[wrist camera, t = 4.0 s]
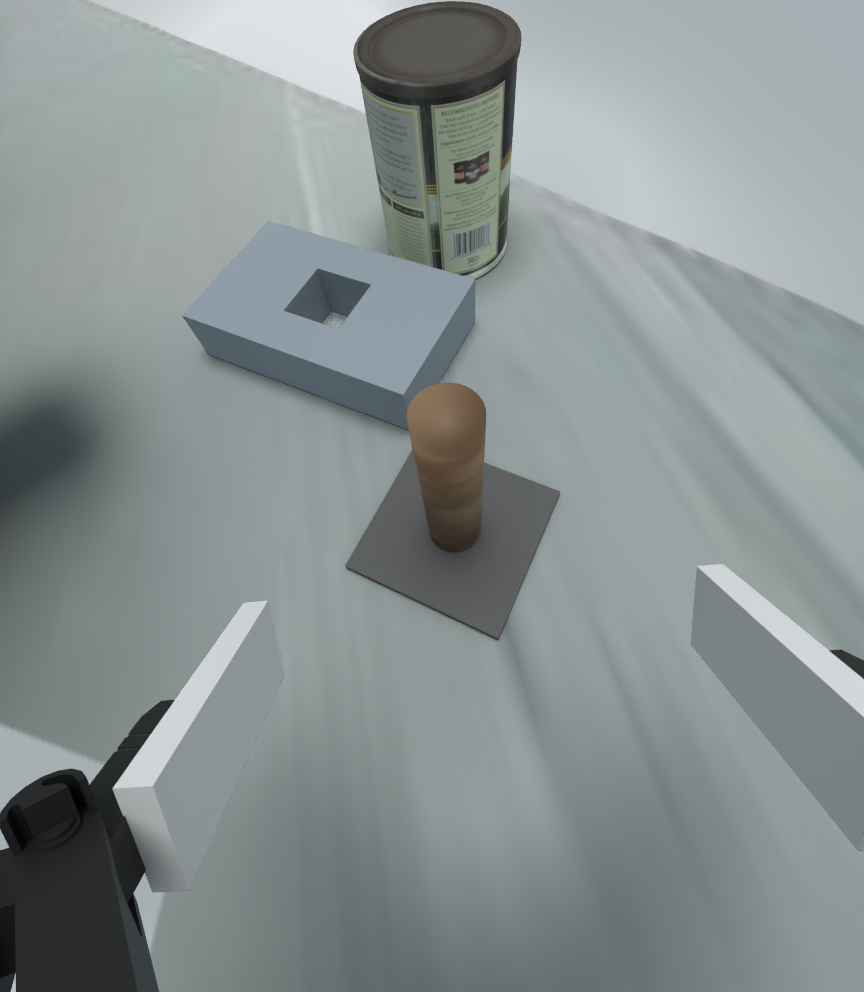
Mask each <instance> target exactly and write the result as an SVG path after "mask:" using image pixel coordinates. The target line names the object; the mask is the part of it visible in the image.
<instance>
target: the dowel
mask: <svg viewBox="0 0 864 992" xmlns="http://www.w3.org/2000/svg"><path fill="white" fill-rule="evenodd" d="M407 424H408V429H409V434H410V439H411V444H412V449H413V454H414V459H415V464H416V469H417V474H418V479H419V484H420V489H421V493H422V498H423V503H424V508H425V513H426V518H427V523H428V528H429V533H430V537H431V539H432V541H433V542H434V543H435V545H436V546H438V547H439V548H440V549H442V550H444V551H447V552H453V553H457V552H462V551H465V550H467V549H469V548H471V547H472V546H473V545H474V544H475V543H476V542H477V540H478V538H479V536H480V532H481V515H482V494H483V472H484V451H485V429H486V409H485V405H484V403H483V401H482V399H481V398H480V397H479V395H478V394H477V393H476V392H474V391H473V390H472V389H470V388H468V387H466V386H464V385H460V384H456V383H440V384H435V385H432V386H429V387H427V388H425V389H424V390H422V391H421V392H419V393H418V394H417V395H416V396H415V397H414V398H413V400H412V401H411V403H410V405H409V407H408V410H407Z"/></svg>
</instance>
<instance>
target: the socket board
mask: <svg viewBox="0 0 864 992" xmlns="http://www.w3.org/2000/svg"><path fill="white" fill-rule="evenodd" d="M331 310H332V311H335V312H338V313H341V314H344V315H347V316H348V317H347V318H346V320H345V321H344V322H343V324H342V325H341V327H340V328H339V329H337V328H334V327H331V326H328V325H325V324H322V322H323V321H324V319H325V318H326V317H327V315H328V314H329V313H330V311H331ZM182 316H183V318H184V319H185V320H186V322H187V323H188V325H189V326H190V328H191V329H192V331H193V332H194V334H195V335H196V337H197V338H198V340H199V341H200V343H201V344H202V346H203V347H204V348H205V350H206V351H207V353H208V354H209V355H211V356H214V357H217V358H219V359H222V360H225V361H227V362H230V363H233V364H235V365H238V366H240V367H243V368H246V369H248V370H251V371H254V372H256V373H259V374H262V375H264V376H267V377H270V378H272V379H275V380H277V381H280V382H283V383H285V384H288V385H291V386H293V387H296V388H299V389H301V390H304V391H307V392H309V393H312V394H314V395H317V396H320V397H322V398H325V399H328V400H330V401H333V402H336V403H338V404H341V405H344V406H346V407H349V408H351V409H354V410H357V411H359V412H362V413H365V414H367V415H370V416H373V417H375V418H378V419H381V420H383V421H386V422H388V423H391V424H394V425H396V426H399V427H402V428H404V429H407V430H409V429H408V424H407V410H408V407H409V405H410V403H411V401H412V400H413V398H414V397H415V396H416V395H417V394H418V393H419V392H421V391H422V390H424V389H425V388H427V387H429V386H432V385H435V384H438V383H439V382H440V380H441V378H442V377H443V375H444V373H445V372H446V370H447V368H448V367H449V365H450V363H451V362H452V360H453V358H454V356H455V355H456V353H457V351H458V350H459V348H460V346H461V345H462V343H463V341H464V340H465V338H466V336H467V335H468V333H469V331H470V329H471V328H472V326H473V324H474V323H475V279H473V278H469V277H465V276H462V275H458V274H455V273H451V272H448V271H444V270H440V269H437V268H433V267H430V266H426V265H423V264H419V263H416V262H412V261H408V260H405V259H401V258H398V257H394V256H391V255H387V254H383V253H380V252H376V251H373V250H369V249H366V248H362V247H359V246H355V245H351V244H348V243H344V242H341V241H337V240H334V239H330V238H326V237H323V236H319V235H316V234H312V233H309V232H305V231H302V230H298V229H294V228H291V227H287V226H284V225H280V224H277V223H273V222H269V221H268V222H267V223H266V224H265V226H264V227H263V228H262V229H261V230H260V231H259V232H258V233H257V234H256V235H255V236H254V238H253V239H252V240H251V241H250V242H249V243H248V244H247V245H246V246H245V247H244V248H243V250H242V251H241V252H240V253H239V254H238V255H237V256H236V257H235V258H234V259H233V261H232V262H231V263H230V264H229V265H228V266H227V267H226V268H225V269H224V270H223V271H222V273H221V274H220V275H219V276H218V277H217V278H216V279H215V280H214V281H213V282H212V283H211V285H210V286H209V287H208V288H207V289H206V290H205V291H204V292H203V293H202V294H201V296H200V297H199V298H198V299H197V300H196V301H195V302H194V303H193V304H192V305H191V306H190V308H189V309H188V310H187V311H186V312H185V313H184V314H183V315H182Z"/></svg>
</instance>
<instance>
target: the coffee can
mask: <svg viewBox="0 0 864 992" xmlns="http://www.w3.org/2000/svg"><path fill="white" fill-rule="evenodd" d="M520 47H521V31H520V29H519V27H518V25H517V23H516V22H515V21H514V20H513V19H512V18H511V17H510V16H509V15H507V14H505V13H504V12H502V11H500V10H498V9H495V8H492V7H489V6H487V5H482V4H479V3H471V2H456V1H449V2H448V1H447V2H435V3H427V4H422V5H417V6H413V7H410V8H405V9H402V10H400V11H397V12H394V13H392V14H390V15H387V16H385V17H383V18H381V19H380V20H378V21H376V22H375V23H373V24H372V25H370V26H369V27H368V28H367V29H366V30H364V31H363V33H362V34H361V35H360V36H359V38H358V39H357V41H356V43H355V46H354V59H355V64H356V68H357V71H358V73H359V75H360V82H361V88H362V93H363V99H364V105H365V110H366V116H367V122H368V128H369V133H370V139H371V144H372V150H373V156H374V162H375V168H376V173H377V180H378V184H379V190H380V196H381V201H382V207H383V213H384V219H385V224H386V230H387V236H388V242H389V254H390V255H391V256H394V257H398V258H401V259H405V260H408V261H412V262H416V263H419V264H423V265H426V266H430V267H433V268H437V269H440V270H444V271H448V272H451V273H455V274H458V275H462V276H465V277H469V278H473V279H476V278H478V277H480V276H482V275H484V274H486V273H487V272H489V271H490V270H491V269H492V268H494V267H495V266H496V265H497V264H498V263H499V261H500V260H501V259H502V257H503V255H504V253H505V250H506V247H507V218H508V202H509V185H510V168H511V152H512V137H513V121H514V105H515V88H516V72H517V59H518V56H519V53H520Z"/></svg>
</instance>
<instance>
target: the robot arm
mask: <svg viewBox="0 0 864 992" xmlns="http://www.w3.org/2000/svg"><path fill="white" fill-rule="evenodd" d="M691 645H692V647H693V648H694V649H695V650H696V652H697V653H698V654H699V655H700V656H701V658H702V659H703V660H704V661H705V663H706V664H707V665H708V666H709V668H710V669H711V670H712V671H713V672H714V674H715V675H716V676H717V677H718V679H719V680H720V681H721V682H722V684H723V685H724V686H725V687H726V689H727V690H728V691H729V692H730V693H731V695H732V696H733V697H734V698H735V700H736V701H737V702H738V703H739V705H740V706H741V707H742V708H743V710H744V711H745V712H746V713H747V714H748V716H749V717H750V718H751V719H752V721H753V722H754V723H755V724H756V726H757V727H758V728H759V729H760V730H761V732H762V733H763V734H764V735H765V737H766V738H767V739H768V740H769V742H770V743H771V744H772V745H773V747H774V748H775V749H776V750H777V751H778V753H779V754H780V755H781V756H782V758H783V759H784V760H785V761H786V763H787V764H788V765H789V766H790V768H791V769H792V770H793V771H794V772H795V774H796V775H797V776H798V777H799V779H800V780H801V781H802V782H803V784H804V785H805V786H806V787H807V788H808V790H809V791H810V792H811V793H812V795H813V796H814V797H815V798H816V800H817V801H818V802H819V803H820V805H821V806H822V807H823V808H824V809H825V811H826V812H827V813H828V814H829V816H830V817H831V818H832V819H833V821H834V822H835V823H836V824H837V826H838V827H839V828H840V829H841V830H842V832H843V833H844V834H845V835H846V837H847V838H848V839H849V840H850V842H851V843H852V844H853V845H854V846H855V848H856V849H857V850H858V851H864V661H863V660H861V659H859V658H857V657H855V656H853V655H851V654H849V653H847V652H845V651H843V650H827V649H826V648H825V647H824V646H822V645H821V644H820V643H819V642H818V641H816V640H815V639H814V638H813V637H811V636H810V635H809V634H808V633H807V632H805V631H804V630H803V629H802V628H800V627H799V626H798V625H797V624H796V623H794V622H793V621H792V620H791V619H789V618H788V617H787V616H786V615H784V614H783V613H782V612H781V611H780V610H778V609H777V608H776V607H775V606H773V605H772V604H771V603H770V602H769V601H767V600H766V599H765V598H764V597H762V596H761V595H760V594H759V593H758V592H756V591H755V590H754V589H753V588H751V587H750V586H749V585H748V584H747V583H745V582H744V581H743V580H742V579H740V578H739V577H738V576H737V575H735V574H734V573H733V572H732V571H731V570H729V569H728V568H727V567H726V566H724V565H723V564H718V565H706V566H697V571H696V584H695V596H694V609H693V621H692V634H691ZM284 675H285V674H284V669H283V665H282V661H281V656H280V652H279V647H278V643H277V638H276V634H275V629H274V625H273V621H272V616H271V612H270V607H269V603H268V601H259V602H246V603H243V605H242V606H241V607H240V609H239V610H238V612H237V613H236V615H235V616H234V617H233V619H232V620H231V622H230V623H229V624H228V626H227V627H226V629H225V630H224V632H223V633H222V634H221V636H220V637H219V639H218V640H217V641H216V643H215V644H214V646H213V647H212V648H211V650H210V651H209V653H208V654H207V656H206V657H205V658H204V660H203V661H202V663H201V664H200V665H199V667H198V668H197V670H196V671H195V673H194V674H193V675H192V677H191V678H190V680H189V681H188V682H187V684H186V685H185V687H184V688H183V689H182V691H181V692H180V694H179V695H178V697H177V698H176V699H175V700H167V701H160V702H159V703H158V704H157V705H155V706H154V707H153V708H152V709H150V710H149V711H148V712H147V713H145V714H144V715H143V716H142V717H141V718H140V719H139V721H138V722H137V723H136V725H135V726H134V727H133V729H132V730H131V731H130V733H129V736H128V737H126V738H125V739H124V740H123V742H122V743H121V744H120V746H119V747H118V751H117V752H114V753H113V755H112V756H111V757H110V759H109V760H108V761H107V763H106V764H105V765H104V767H103V768H102V769H101V771H100V772H99V773H98V774H97V776H96V777H95V779H94V780H93V781H92V782H91V784H90V785H89V783H88V780H87V778H86V776H85V775H84V773H83V772H82V771H79V770H75V769H67V770H60V771H56V772H54V773H51V774H48V775H46V776H43V777H41V778H39V779H38V780H36V781H34V782H33V783H31V784H29V785H28V786H26V787H25V788H23V789H22V790H21V791H20V792H19V793H18V794H16V795H15V796H14V797H13V798H12V799H11V800H10V801H9V802H8V803H7V805H6V806H5V807H4V808H3V810H2V811H1V813H0V829H1V831H2V833H3V835H4V837H5V839H6V841H7V843H8V845H9V847H10V848H7V849H4V850H1V851H0V992H10V991H11V988H12V984H13V980H14V976H15V973H16V992H159V990H158V986H157V981H156V977H155V973H154V969H153V965H152V961H151V957H150V953H149V949H148V945H147V940H146V936H145V933H144V928H143V924H142V920H141V916H140V912H139V908H138V904H137V901H136V899H135V896H134V894H133V893H134V891H135V889H136V887H137V885H138V884H139V882H140V880H141V878H142V876H143V874H144V872H145V874H146V876H147V879H148V882H149V884H150V887H151V890H152V892H169V891H186V890H190V888H191V886H192V884H193V881H194V879H195V877H196V875H197V872H198V870H199V868H200V865H201V863H202V861H203V859H204V856H205V854H206V852H207V850H208V847H209V845H210V843H211V841H212V838H213V836H214V834H215V831H216V829H217V827H218V825H219V822H220V820H221V818H222V816H223V813H224V811H225V809H226V807H227V804H228V802H229V800H230V797H231V795H232V793H233V791H234V788H235V786H236V784H237V782H238V779H239V777H240V775H241V772H242V770H243V768H244V766H245V763H246V761H247V759H248V757H249V754H250V752H251V750H252V748H253V745H254V743H255V741H256V738H257V736H258V734H259V732H260V729H261V727H262V725H263V723H264V720H265V718H266V716H267V714H268V711H269V709H270V707H271V704H272V702H273V700H274V698H275V695H276V693H277V691H278V689H279V686H280V684H281V682H282V680H283V677H284Z"/></svg>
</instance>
